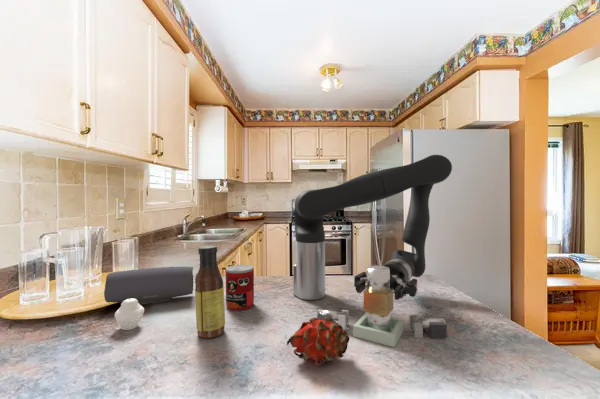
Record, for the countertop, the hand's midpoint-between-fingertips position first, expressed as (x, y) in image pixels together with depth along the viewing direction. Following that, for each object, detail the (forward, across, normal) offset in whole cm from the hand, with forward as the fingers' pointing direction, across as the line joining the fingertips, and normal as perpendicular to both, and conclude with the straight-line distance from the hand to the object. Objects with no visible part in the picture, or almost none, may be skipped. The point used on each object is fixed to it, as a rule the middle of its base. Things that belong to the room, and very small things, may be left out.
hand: (376, 291), depth 64 cm
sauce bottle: (+18, -33, +10) cm, 39 cm away
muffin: (+26, -52, +10) cm, 59 cm away
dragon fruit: (+15, -7, +10) cm, 19 cm away
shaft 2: (-7, +9, +10) cm, 16 cm away
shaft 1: (0, -11, +10) cm, 15 cm away
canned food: (+2, -39, +10) cm, 40 cm away
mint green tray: (-2, 0, +10) cm, 10 cm away
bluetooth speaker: (+13, -64, +10) cm, 66 cm away
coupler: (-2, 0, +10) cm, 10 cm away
